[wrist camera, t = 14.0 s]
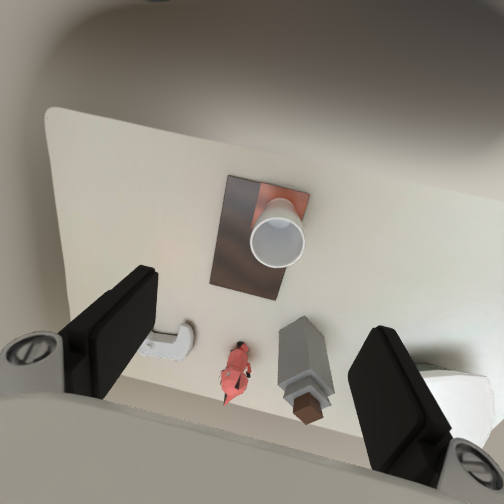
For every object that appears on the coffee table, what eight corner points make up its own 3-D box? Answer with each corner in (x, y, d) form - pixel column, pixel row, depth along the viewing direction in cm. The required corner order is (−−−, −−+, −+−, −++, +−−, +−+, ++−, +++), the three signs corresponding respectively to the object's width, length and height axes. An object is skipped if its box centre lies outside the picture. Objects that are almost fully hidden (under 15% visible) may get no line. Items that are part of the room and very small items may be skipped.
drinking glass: (305, 199, 42) (314, 226, 29) (292, 235, 45) (294, 275, 32) (266, 187, 42) (257, 208, 29) (255, 224, 45) (243, 259, 32)
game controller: (190, 328, 54) (189, 369, 56) (197, 318, 58) (195, 357, 60) (127, 319, 55) (127, 360, 57) (138, 310, 59) (138, 349, 61)
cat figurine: (236, 334, 57) (224, 379, 46) (261, 348, 58) (255, 396, 47) (221, 352, 60) (206, 399, 49) (245, 366, 61) (237, 415, 50)
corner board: (228, 173, 43) (227, 174, 42) (309, 193, 43) (310, 194, 42) (210, 282, 52) (208, 284, 51) (276, 298, 52) (276, 301, 51)
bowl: (347, 350, 55) (357, 384, 47) (466, 336, 50) (499, 371, 42) (359, 417, 63) (369, 456, 55) (463, 411, 58) (491, 452, 50)
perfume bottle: (304, 315, 53) (312, 393, 36) (323, 336, 54) (340, 420, 38) (279, 330, 55) (276, 410, 39) (298, 350, 57) (303, 434, 40)
